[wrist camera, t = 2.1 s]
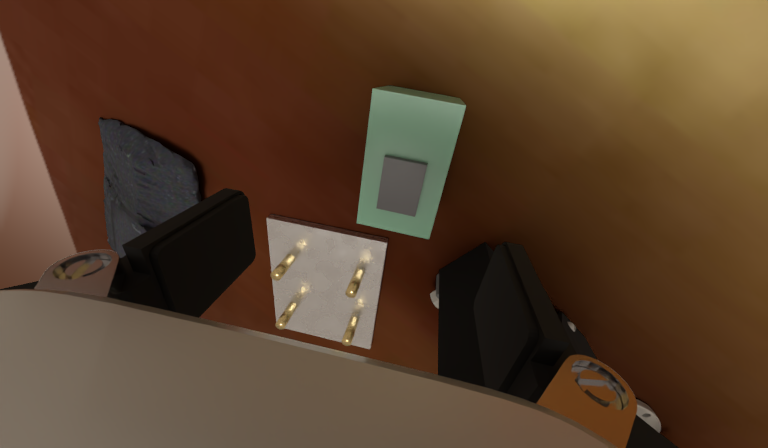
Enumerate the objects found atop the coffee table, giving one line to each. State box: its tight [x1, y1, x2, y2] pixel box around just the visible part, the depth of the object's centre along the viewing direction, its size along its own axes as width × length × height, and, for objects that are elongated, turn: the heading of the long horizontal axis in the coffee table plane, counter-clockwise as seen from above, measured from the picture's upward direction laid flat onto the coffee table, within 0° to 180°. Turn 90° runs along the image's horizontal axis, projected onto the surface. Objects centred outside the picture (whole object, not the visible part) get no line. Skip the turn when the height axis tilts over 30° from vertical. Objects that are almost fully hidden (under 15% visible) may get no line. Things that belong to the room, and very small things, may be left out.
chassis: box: [266, 214, 389, 349], centre depth 34 cm, size 14×18×4 cm
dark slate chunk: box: [98, 118, 201, 258], centre depth 34 cm, size 15×22×5 cm
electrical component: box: [430, 242, 597, 387], centre depth 24 cm, size 18×10×20 cm, turn 45°
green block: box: [357, 85, 466, 239], centre depth 23 cm, size 6×10×8 cm, turn 171°
